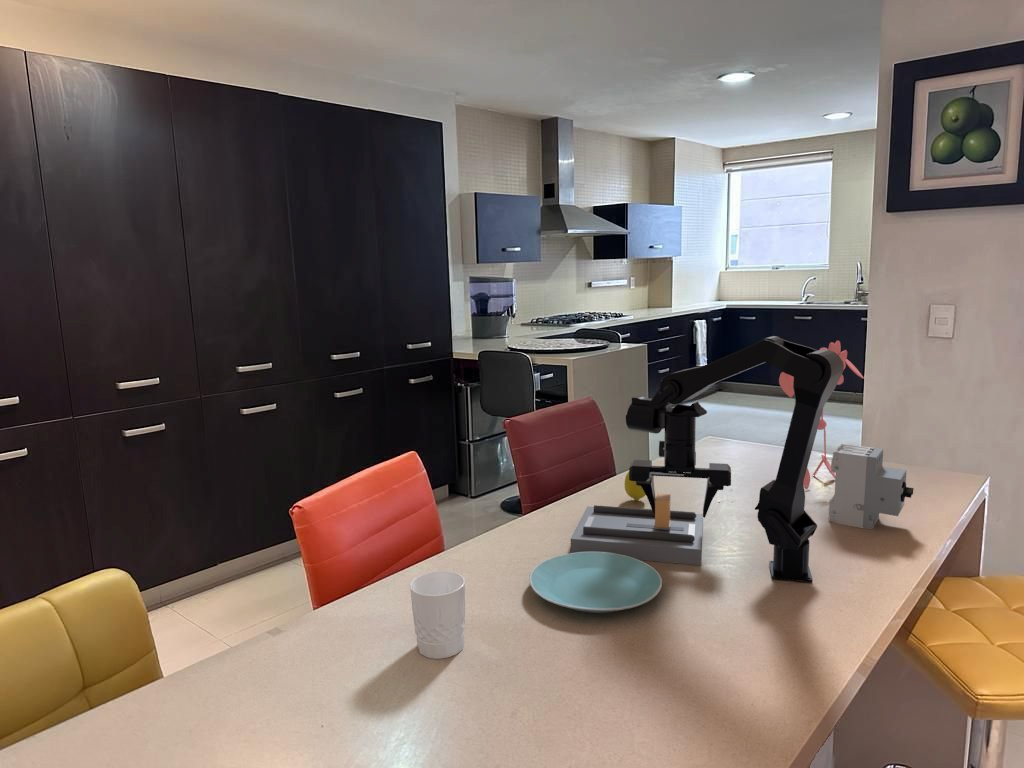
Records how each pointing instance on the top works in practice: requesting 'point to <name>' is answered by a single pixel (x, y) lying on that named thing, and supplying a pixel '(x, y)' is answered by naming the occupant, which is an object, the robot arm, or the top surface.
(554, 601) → the plate
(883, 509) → the circuit breaker
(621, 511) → the grey slider track
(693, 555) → the panel
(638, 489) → the lemon
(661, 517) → the breaker handle
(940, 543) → the top surface
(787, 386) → the figurine
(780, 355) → the robot arm
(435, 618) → the white cup
